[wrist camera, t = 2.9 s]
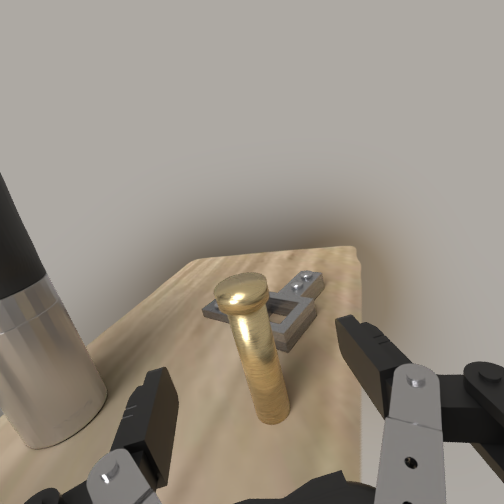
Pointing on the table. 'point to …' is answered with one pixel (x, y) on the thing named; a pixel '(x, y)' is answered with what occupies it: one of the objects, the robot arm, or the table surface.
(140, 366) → the table surface
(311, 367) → the table surface
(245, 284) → the brass pin
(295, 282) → the bolted corner bracket
